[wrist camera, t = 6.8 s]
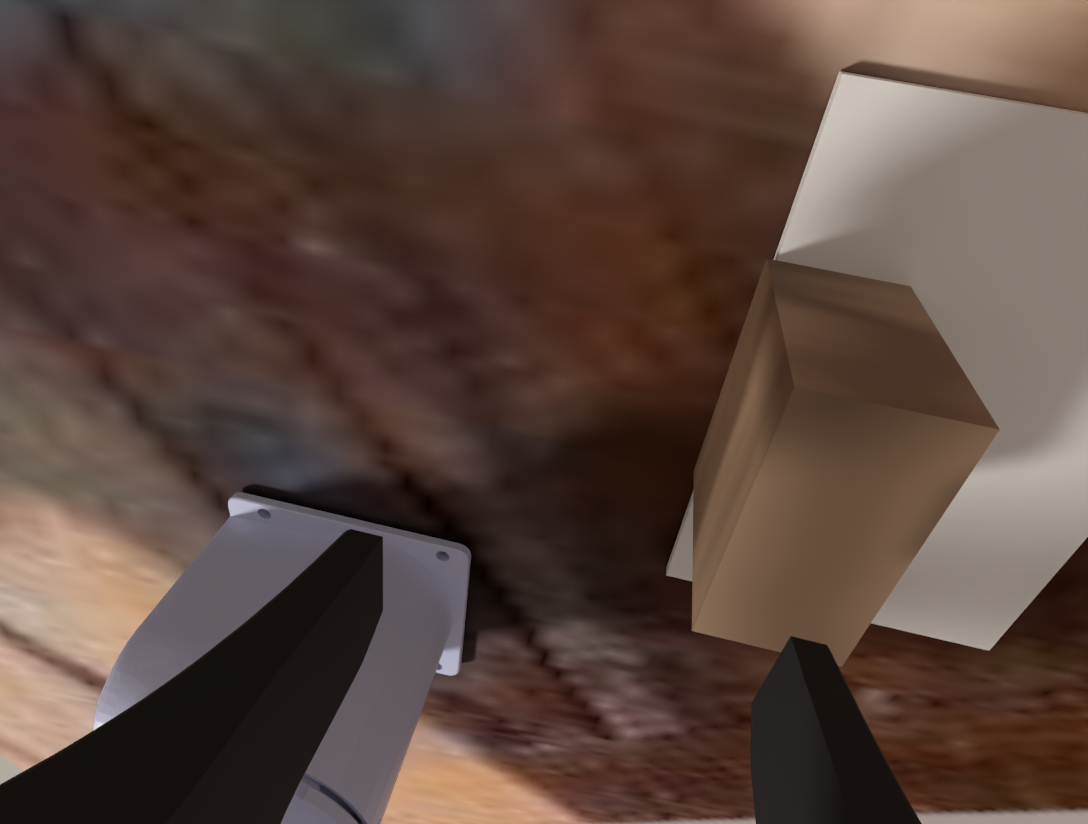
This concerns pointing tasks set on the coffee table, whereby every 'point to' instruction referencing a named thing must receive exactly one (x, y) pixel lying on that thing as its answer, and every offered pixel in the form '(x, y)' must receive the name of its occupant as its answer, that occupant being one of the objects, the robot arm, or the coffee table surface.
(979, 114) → the mat
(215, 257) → the coffee table surface
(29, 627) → the coffee table surface
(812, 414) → the brown block
